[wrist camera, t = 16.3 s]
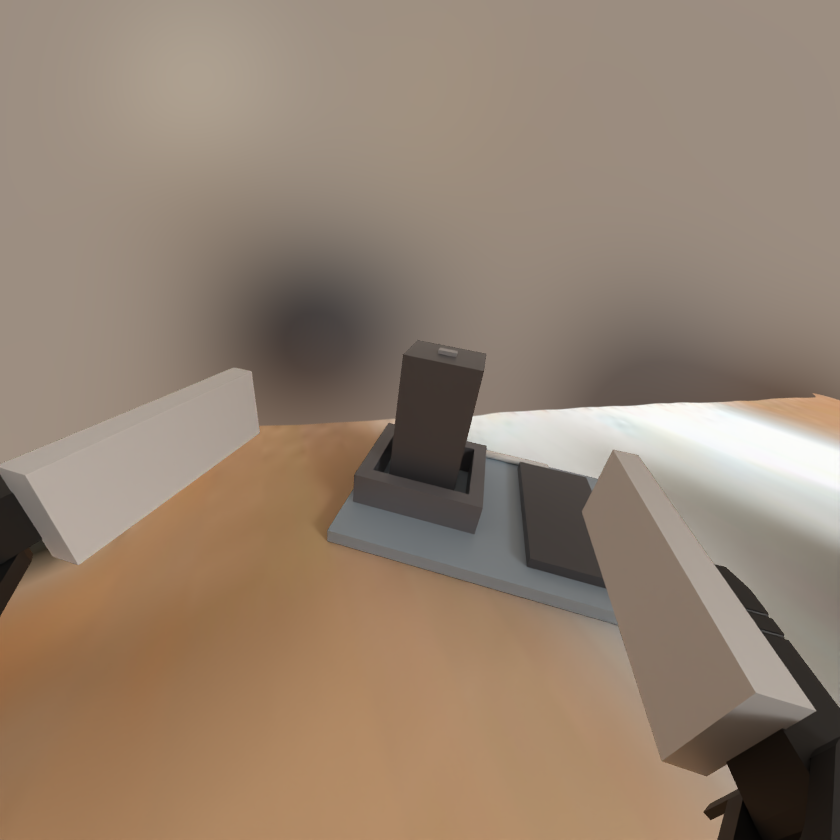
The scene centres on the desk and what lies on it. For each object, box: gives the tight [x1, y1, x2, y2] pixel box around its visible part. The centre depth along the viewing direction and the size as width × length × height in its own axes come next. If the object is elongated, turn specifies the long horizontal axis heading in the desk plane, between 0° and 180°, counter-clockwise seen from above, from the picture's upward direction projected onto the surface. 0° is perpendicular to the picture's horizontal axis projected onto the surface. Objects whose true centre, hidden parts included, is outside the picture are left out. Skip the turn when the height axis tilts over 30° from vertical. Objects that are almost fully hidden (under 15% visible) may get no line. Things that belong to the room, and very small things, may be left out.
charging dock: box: [327, 423, 618, 625], centre depth 25 cm, size 21×14×4 cm, turn 77°
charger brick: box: [389, 340, 486, 490], centre depth 23 cm, size 5×4×11 cm
